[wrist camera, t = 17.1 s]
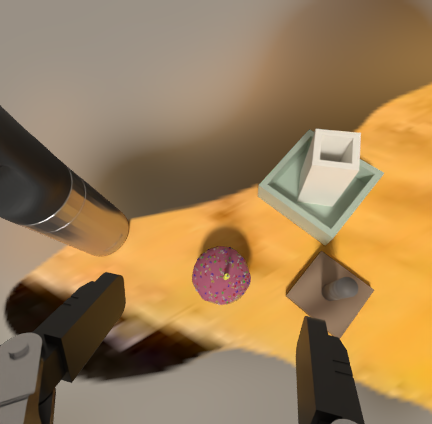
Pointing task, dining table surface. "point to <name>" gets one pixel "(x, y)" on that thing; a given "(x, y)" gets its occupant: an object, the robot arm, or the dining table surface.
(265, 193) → the tray
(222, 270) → the cupcake
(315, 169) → the sleeve
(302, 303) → the base
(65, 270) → the dining table surface
